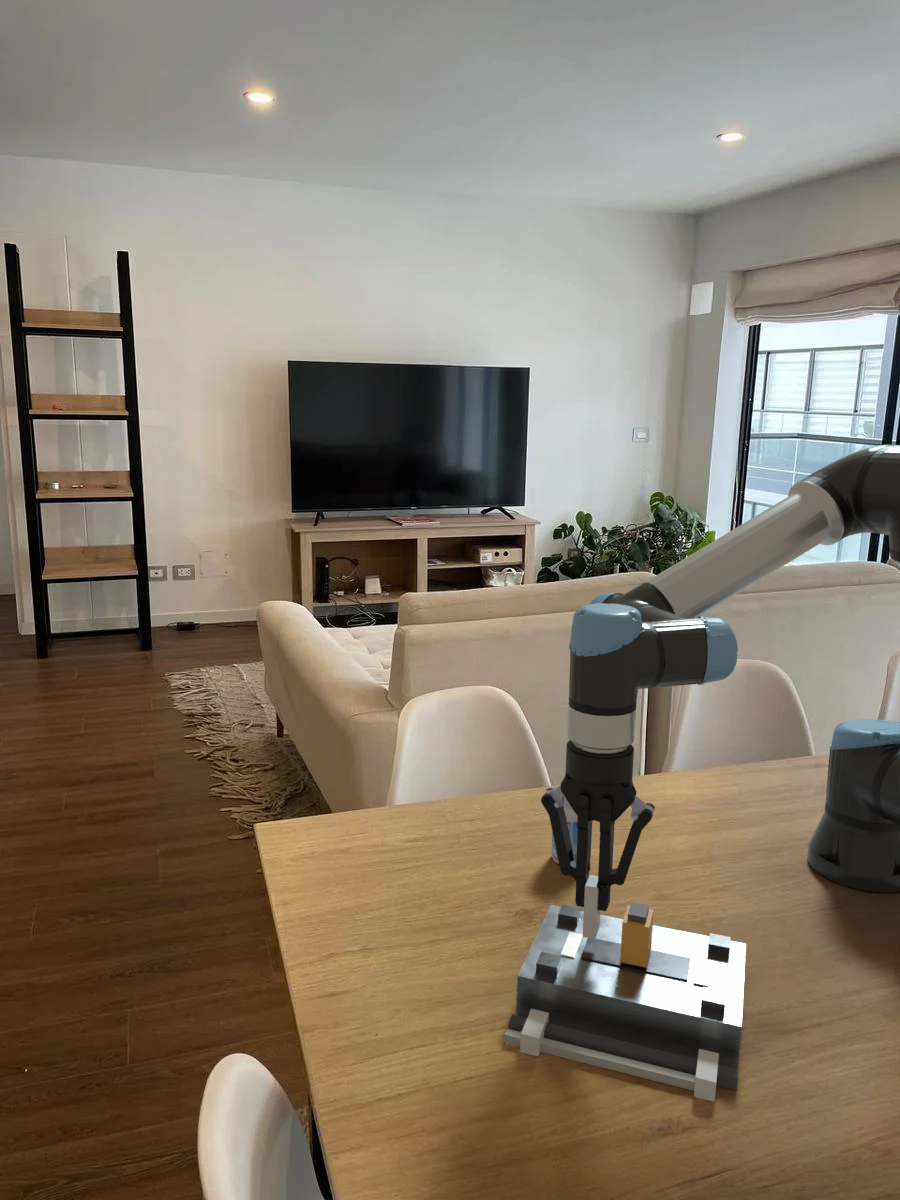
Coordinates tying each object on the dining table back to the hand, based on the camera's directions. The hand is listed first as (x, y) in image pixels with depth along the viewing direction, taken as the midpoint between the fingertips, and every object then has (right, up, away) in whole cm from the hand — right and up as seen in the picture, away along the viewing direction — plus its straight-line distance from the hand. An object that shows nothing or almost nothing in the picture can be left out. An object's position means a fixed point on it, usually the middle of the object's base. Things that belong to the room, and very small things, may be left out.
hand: (591, 931), depth 104 cm
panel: (+5, -8, 0) cm, 9 cm away
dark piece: (+5, -8, 0) cm, 9 cm away
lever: (+5, -2, -1) cm, 6 cm away
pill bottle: (+2, -1, +33) cm, 33 cm away
